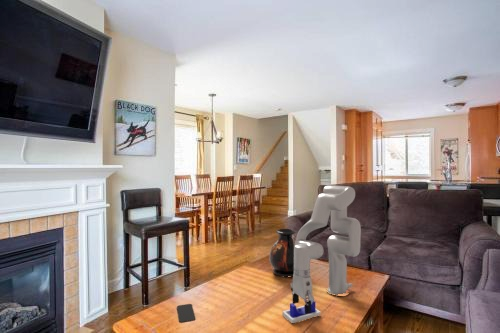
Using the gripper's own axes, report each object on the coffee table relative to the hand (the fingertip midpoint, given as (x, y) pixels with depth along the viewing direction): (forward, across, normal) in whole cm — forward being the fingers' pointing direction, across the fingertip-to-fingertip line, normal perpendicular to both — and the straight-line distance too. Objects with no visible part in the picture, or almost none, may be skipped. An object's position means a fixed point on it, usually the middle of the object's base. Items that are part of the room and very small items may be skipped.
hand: (301, 307), depth 131 cm
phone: (+4, +25, +49) cm, 55 cm away
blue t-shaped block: (+3, 0, 0) cm, 3 cm away
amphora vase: (+4, +47, -21) cm, 52 cm away
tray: (+4, 0, 0) cm, 4 cm away
